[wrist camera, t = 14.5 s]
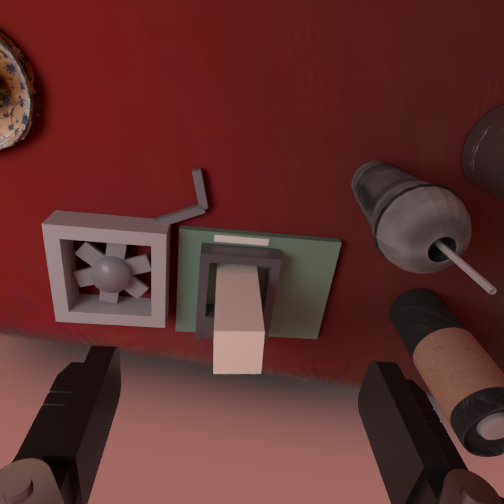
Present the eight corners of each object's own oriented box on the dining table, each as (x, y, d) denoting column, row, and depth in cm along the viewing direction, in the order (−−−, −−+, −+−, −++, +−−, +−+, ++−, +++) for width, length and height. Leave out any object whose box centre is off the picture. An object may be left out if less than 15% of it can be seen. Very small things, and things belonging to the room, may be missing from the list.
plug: (256, 262, 44) (264, 331, 34) (252, 308, 47) (260, 385, 37) (217, 261, 44) (213, 331, 33) (216, 308, 47) (213, 385, 36)
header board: (339, 238, 44) (347, 253, 41) (315, 333, 51) (321, 352, 48) (180, 225, 43) (176, 239, 39) (176, 325, 49) (173, 344, 46)
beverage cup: (362, 135, 39) (473, 212, 21) (420, 165, 41) (565, 258, 23) (325, 197, 42) (395, 310, 24) (381, 223, 44) (483, 345, 26)
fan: (211, 168, 40) (209, 179, 37) (201, 311, 48) (199, 329, 45) (48, 152, 38) (32, 162, 35) (67, 303, 47) (55, 321, 44)
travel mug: (394, 286, 48) (476, 406, 32) (447, 286, 48) (554, 405, 33) (382, 329, 51) (451, 458, 35) (432, 330, 52) (522, 457, 36)
